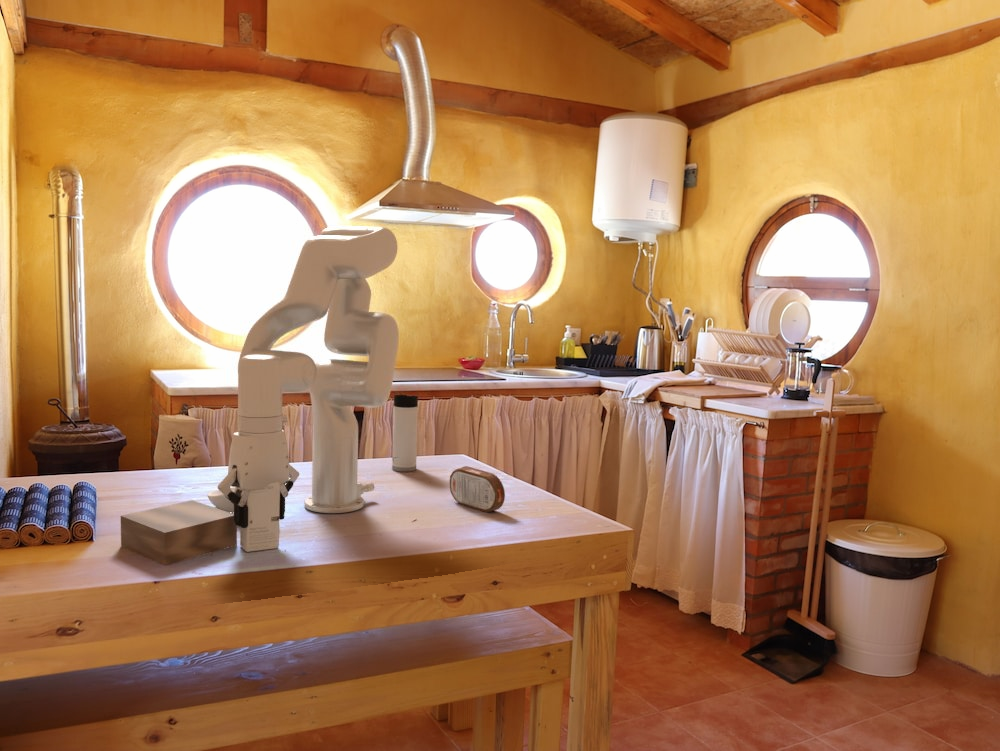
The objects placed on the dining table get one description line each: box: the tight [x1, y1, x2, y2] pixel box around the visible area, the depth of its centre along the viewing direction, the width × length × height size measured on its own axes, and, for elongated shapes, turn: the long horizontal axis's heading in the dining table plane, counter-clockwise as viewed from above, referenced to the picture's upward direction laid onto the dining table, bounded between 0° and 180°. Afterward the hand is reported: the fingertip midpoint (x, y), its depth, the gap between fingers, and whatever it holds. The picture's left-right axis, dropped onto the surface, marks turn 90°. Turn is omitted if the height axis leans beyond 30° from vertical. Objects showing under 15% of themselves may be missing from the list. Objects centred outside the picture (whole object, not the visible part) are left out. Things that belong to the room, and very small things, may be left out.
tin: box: [449, 465, 506, 513], centre depth 174 cm, size 15×3×8 cm, turn 47°
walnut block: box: [120, 499, 238, 566], centre depth 142 cm, size 14×14×6 cm
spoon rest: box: [206, 487, 236, 512], centre depth 162 cm, size 24×12×7 cm, turn 38°
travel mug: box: [391, 394, 419, 473], centre depth 206 cm, size 6×7×20 cm
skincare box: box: [239, 482, 280, 553], centre depth 143 cm, size 6×4×12 cm
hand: (259, 521), depth 143 cm, fingers closed on skincare box, 6 cm apart
